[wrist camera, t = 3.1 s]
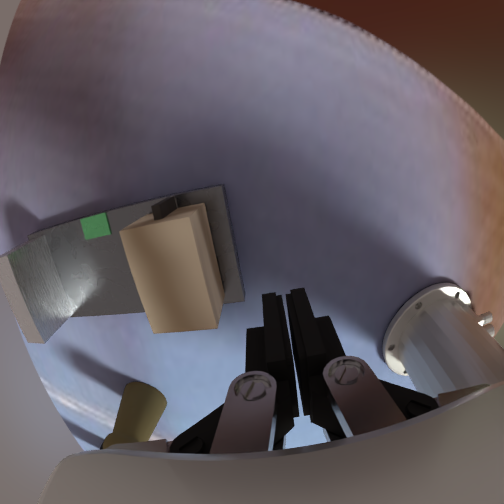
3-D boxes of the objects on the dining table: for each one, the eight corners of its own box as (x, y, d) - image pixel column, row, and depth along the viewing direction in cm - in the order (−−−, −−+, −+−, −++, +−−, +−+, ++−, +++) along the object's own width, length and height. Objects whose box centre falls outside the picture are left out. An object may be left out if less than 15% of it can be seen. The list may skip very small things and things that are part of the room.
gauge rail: (223, 183, 23) (208, 197, 16) (245, 293, 26) (240, 343, 19) (35, 231, 24) (-9, 255, 17) (64, 311, 28) (30, 346, 20)
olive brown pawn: (117, 381, 31) (85, 443, 21) (156, 381, 30) (129, 452, 20) (136, 410, 33) (112, 469, 23) (173, 411, 32) (155, 477, 22)
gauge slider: (201, 190, 21) (185, 200, 16) (224, 295, 24) (217, 328, 19) (143, 202, 21) (115, 216, 17) (170, 301, 24) (153, 333, 20)
